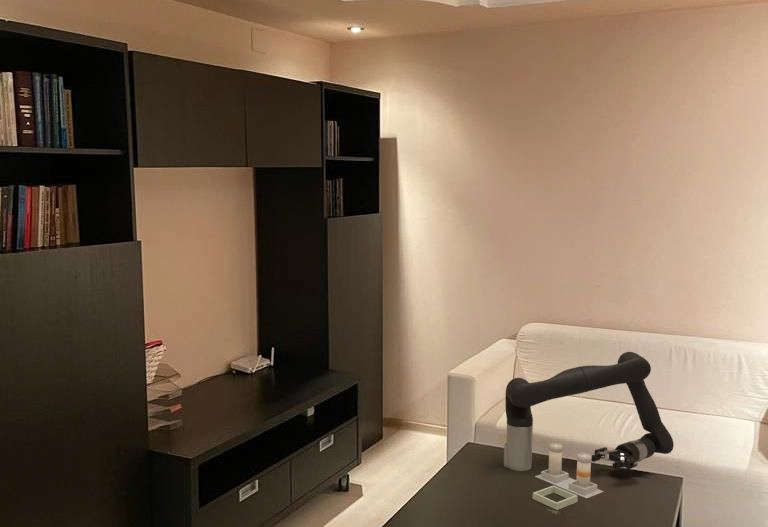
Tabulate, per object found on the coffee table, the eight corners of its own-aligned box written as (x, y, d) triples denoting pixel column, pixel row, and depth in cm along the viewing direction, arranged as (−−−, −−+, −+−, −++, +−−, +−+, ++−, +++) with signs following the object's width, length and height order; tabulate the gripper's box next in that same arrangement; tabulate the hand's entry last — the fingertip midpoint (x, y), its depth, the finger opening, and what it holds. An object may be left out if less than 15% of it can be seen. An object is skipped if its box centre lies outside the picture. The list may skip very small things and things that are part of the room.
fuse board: (534, 480, 253) (535, 470, 252) (551, 474, 258) (552, 465, 258) (586, 502, 235) (586, 492, 235) (603, 495, 240) (603, 485, 240)
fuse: (546, 478, 250) (547, 445, 249) (549, 474, 254) (551, 441, 253) (559, 481, 248) (560, 447, 247) (563, 476, 252) (564, 443, 251)
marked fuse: (574, 490, 241) (575, 455, 239) (577, 485, 245) (579, 451, 243) (588, 493, 239) (589, 458, 237) (591, 488, 243) (593, 454, 241)
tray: (532, 503, 235) (532, 492, 234) (553, 495, 240) (553, 485, 240) (556, 514, 227) (557, 503, 226) (577, 506, 232) (577, 495, 232)
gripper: (614, 436, 262) (586, 445, 252) (649, 448, 251) (621, 458, 241) (613, 456, 263) (585, 466, 253) (648, 469, 251) (620, 480, 242)
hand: (602, 462), depth 247 cm, fingers open, 8 cm apart
